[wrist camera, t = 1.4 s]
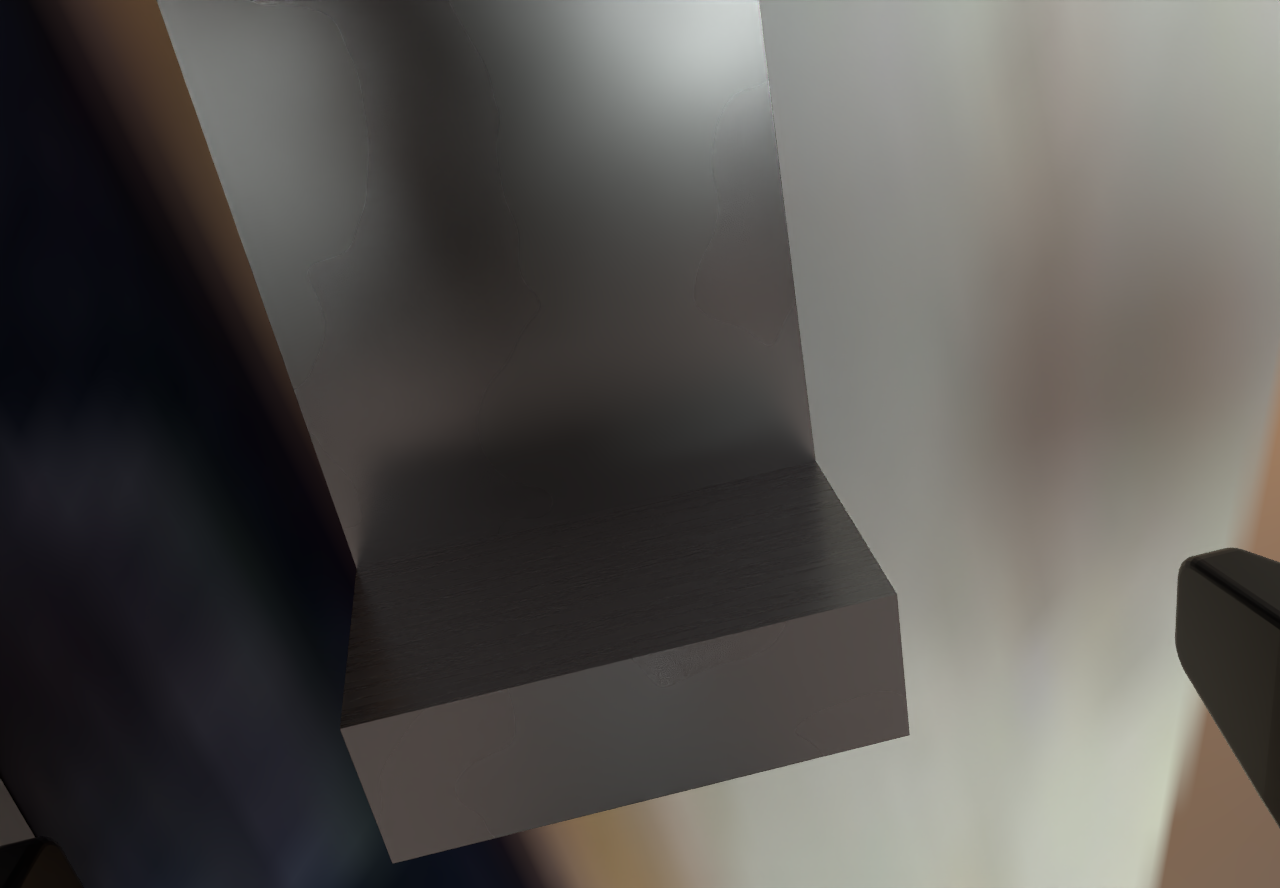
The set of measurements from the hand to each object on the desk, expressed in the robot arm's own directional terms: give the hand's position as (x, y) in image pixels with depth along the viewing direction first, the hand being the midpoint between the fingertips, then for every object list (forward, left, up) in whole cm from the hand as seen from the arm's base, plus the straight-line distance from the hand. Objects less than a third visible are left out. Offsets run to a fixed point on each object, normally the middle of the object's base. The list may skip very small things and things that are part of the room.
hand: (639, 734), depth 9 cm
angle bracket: (+3, 0, -4) cm, 5 cm away
